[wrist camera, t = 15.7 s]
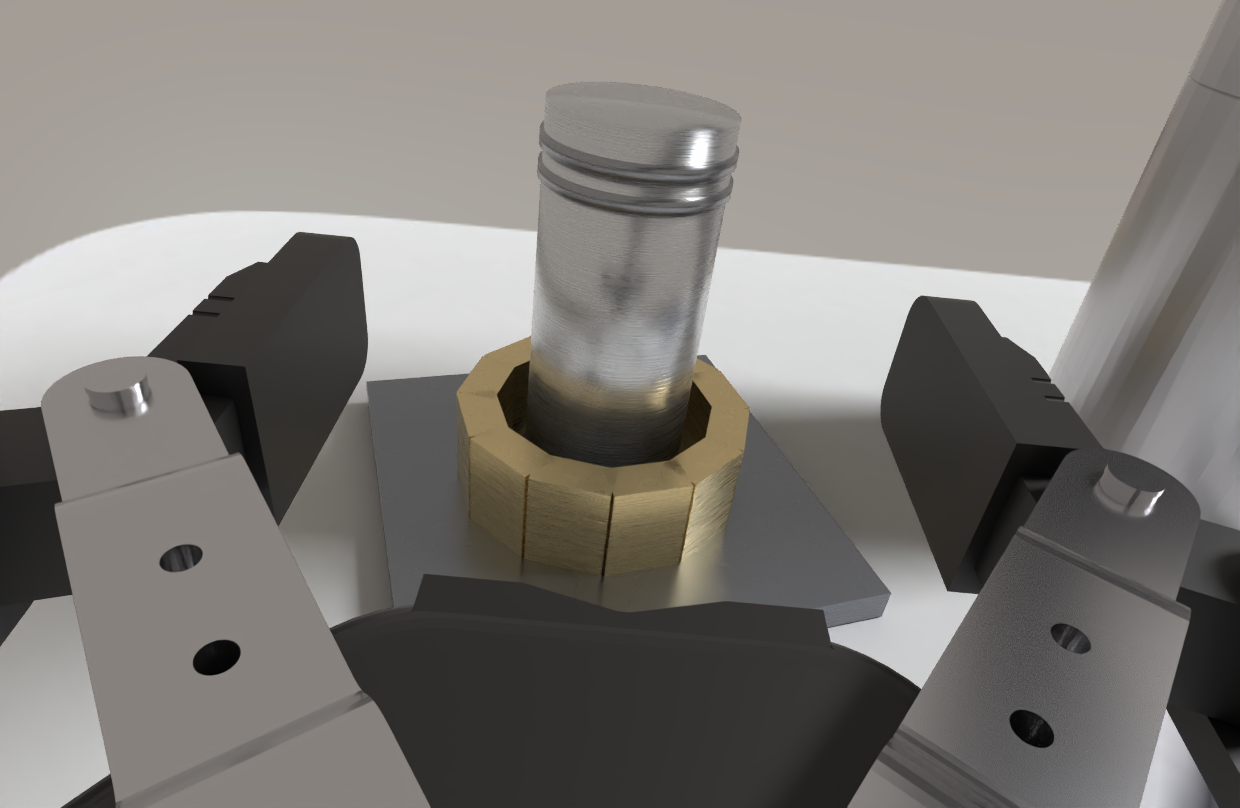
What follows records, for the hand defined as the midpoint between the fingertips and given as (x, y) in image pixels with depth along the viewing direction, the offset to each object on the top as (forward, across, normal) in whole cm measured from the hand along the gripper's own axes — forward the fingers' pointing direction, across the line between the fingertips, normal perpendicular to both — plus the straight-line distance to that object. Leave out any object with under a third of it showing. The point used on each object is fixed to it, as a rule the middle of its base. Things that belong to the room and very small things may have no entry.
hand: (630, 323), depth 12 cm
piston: (+10, 0, +12) cm, 16 cm away
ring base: (+11, 0, +13) cm, 16 cm away
